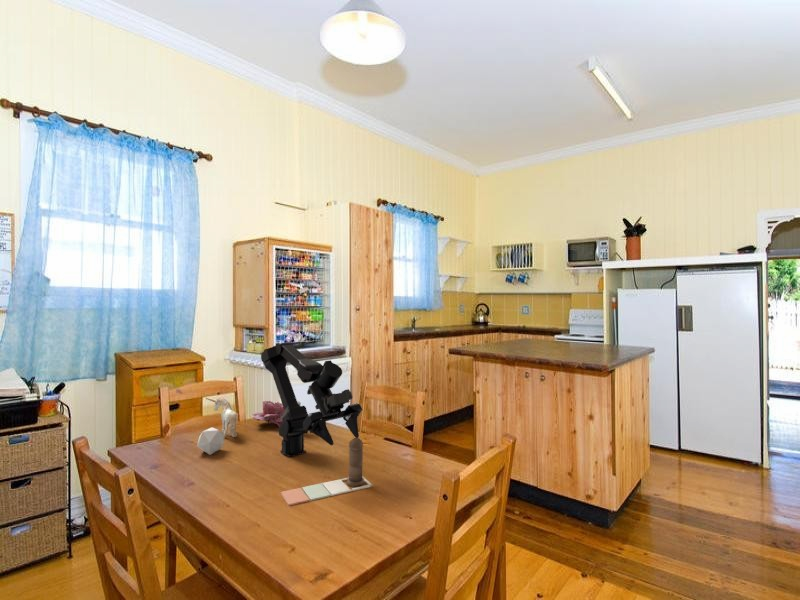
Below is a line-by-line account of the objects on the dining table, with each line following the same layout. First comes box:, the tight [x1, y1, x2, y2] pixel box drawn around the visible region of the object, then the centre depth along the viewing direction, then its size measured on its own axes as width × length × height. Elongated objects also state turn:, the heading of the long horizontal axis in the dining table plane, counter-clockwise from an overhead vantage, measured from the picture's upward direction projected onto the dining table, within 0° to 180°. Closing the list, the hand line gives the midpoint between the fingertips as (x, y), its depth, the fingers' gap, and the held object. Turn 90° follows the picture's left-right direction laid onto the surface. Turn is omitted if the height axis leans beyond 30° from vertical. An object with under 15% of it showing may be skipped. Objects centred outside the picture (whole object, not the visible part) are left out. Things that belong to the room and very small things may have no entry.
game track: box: [280, 475, 374, 507], centre depth 120 cm, size 24×8×1 cm, turn 119°
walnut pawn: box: [346, 437, 365, 488], centre depth 124 cm, size 5×5×13 cm
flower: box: [252, 400, 284, 428], centre depth 180 cm, size 15×15×10 cm
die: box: [196, 426, 225, 456], centre depth 149 cm, size 8×9×10 cm
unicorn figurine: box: [205, 397, 238, 439], centre depth 167 cm, size 7×20×13 cm, turn 51°
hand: (345, 441), depth 127 cm, fingers open, 9 cm apart
